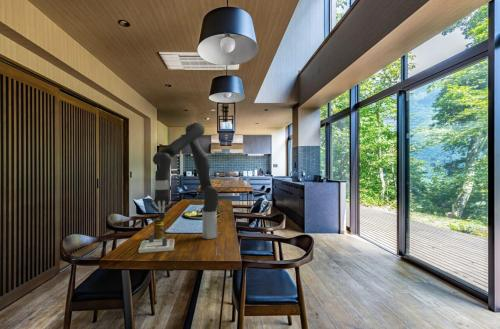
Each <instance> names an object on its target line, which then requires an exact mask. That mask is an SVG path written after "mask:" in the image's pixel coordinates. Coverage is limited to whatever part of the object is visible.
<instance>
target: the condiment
mask: <svg viewBox="0 0 500 329" xmlns="http://www.w3.org/2000/svg"><path fill="white" fill-rule="evenodd" d="M164 227H165V224H164V219H163V220H160V219H159V218H156V219H154V224H153V234H154V240H162V238H163V237H165V236H164V232H165V231H164V230H165V229H164Z"/></svg>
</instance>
